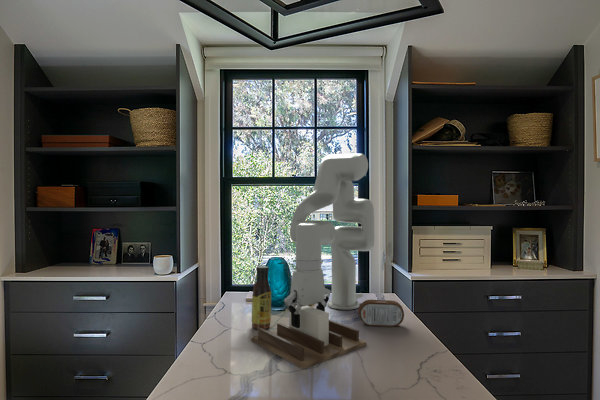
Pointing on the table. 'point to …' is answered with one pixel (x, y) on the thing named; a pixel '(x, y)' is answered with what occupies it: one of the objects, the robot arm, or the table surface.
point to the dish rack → (309, 343)
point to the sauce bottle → (261, 300)
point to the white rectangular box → (313, 323)
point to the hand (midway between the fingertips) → (308, 323)
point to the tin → (381, 313)
